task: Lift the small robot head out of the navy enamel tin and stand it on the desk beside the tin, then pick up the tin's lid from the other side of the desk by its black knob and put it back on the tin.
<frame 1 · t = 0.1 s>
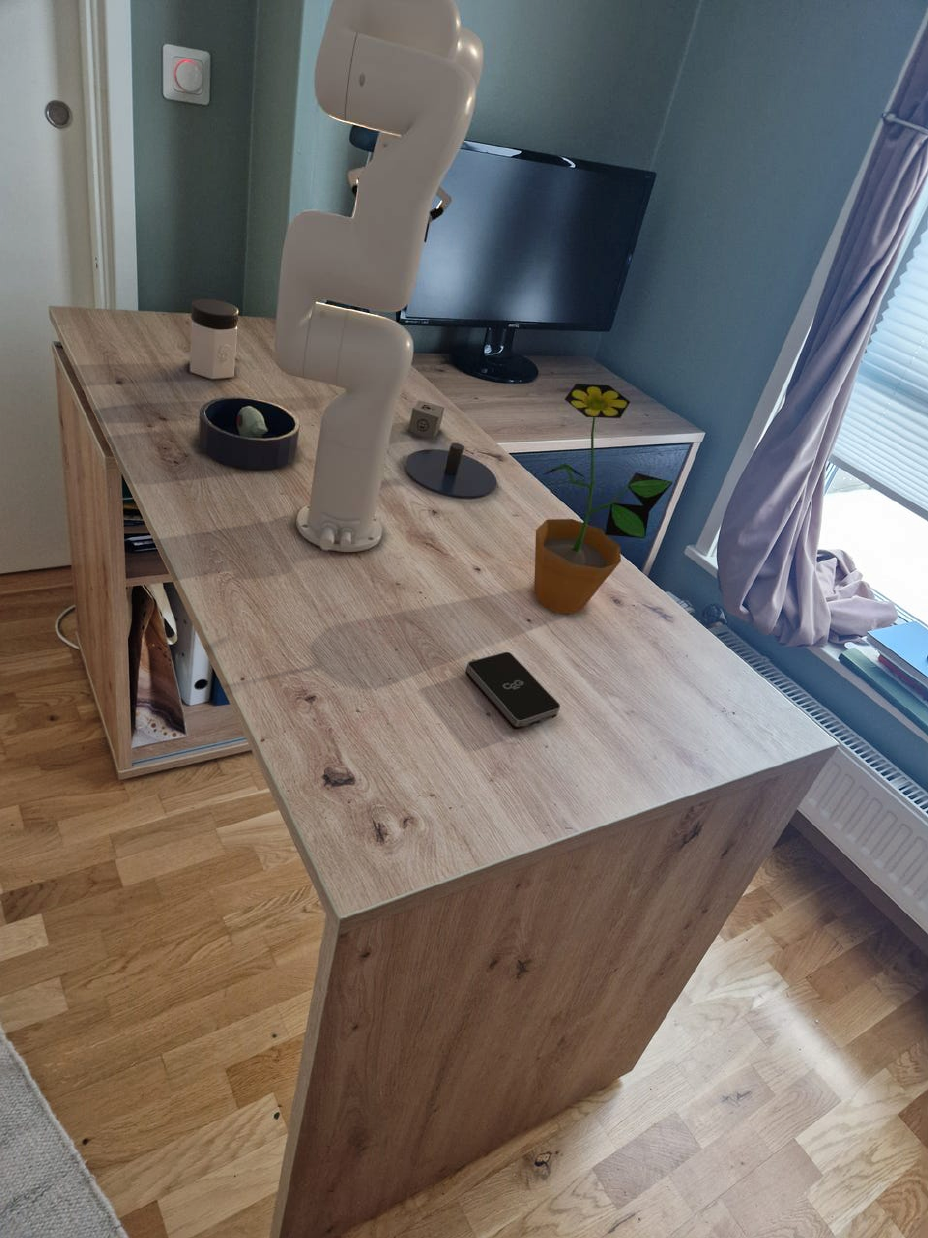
hand: (391, 238, 140), 31 cm above the table, tool pointing down, fingers open, 9 cm apart
potted plant: (557, 600, 121), on the table
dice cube: (423, 433, 156), on the table
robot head: (248, 446, 135), resting on tin
jar: (211, 371, 156), on the table
tin: (248, 447, 135), on the table
lid: (450, 474, 143), point 1 cm above the table
beverage cup: (364, 399, 162), on the table
external hard drive: (508, 697, 101), on the table
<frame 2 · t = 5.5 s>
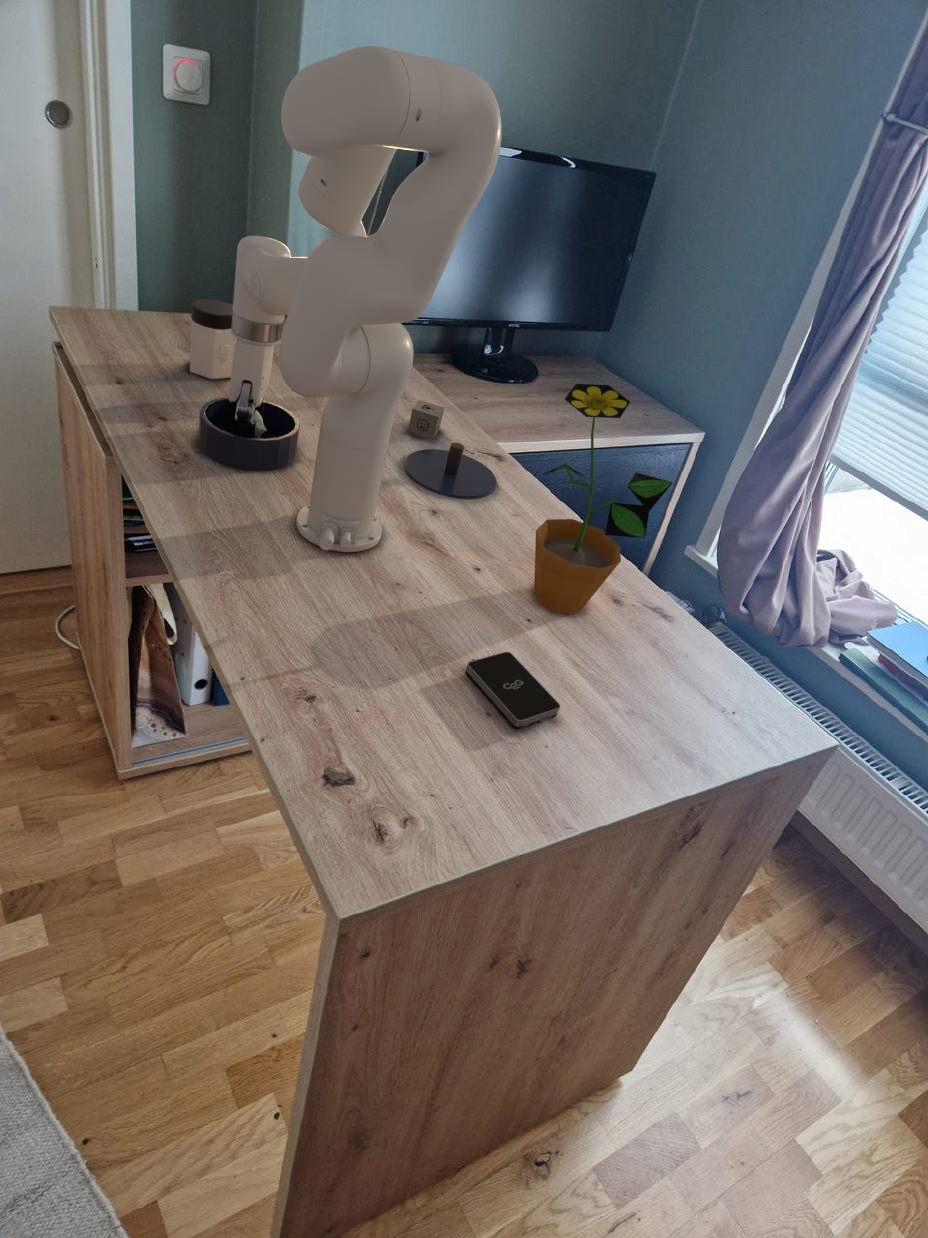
hand: (247, 432, 134), 2 cm above the table, tool pointing down, fingers closed on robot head, 7 cm apart
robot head: (248, 446, 135), resting on tin, touching gripper
everything else where it was.
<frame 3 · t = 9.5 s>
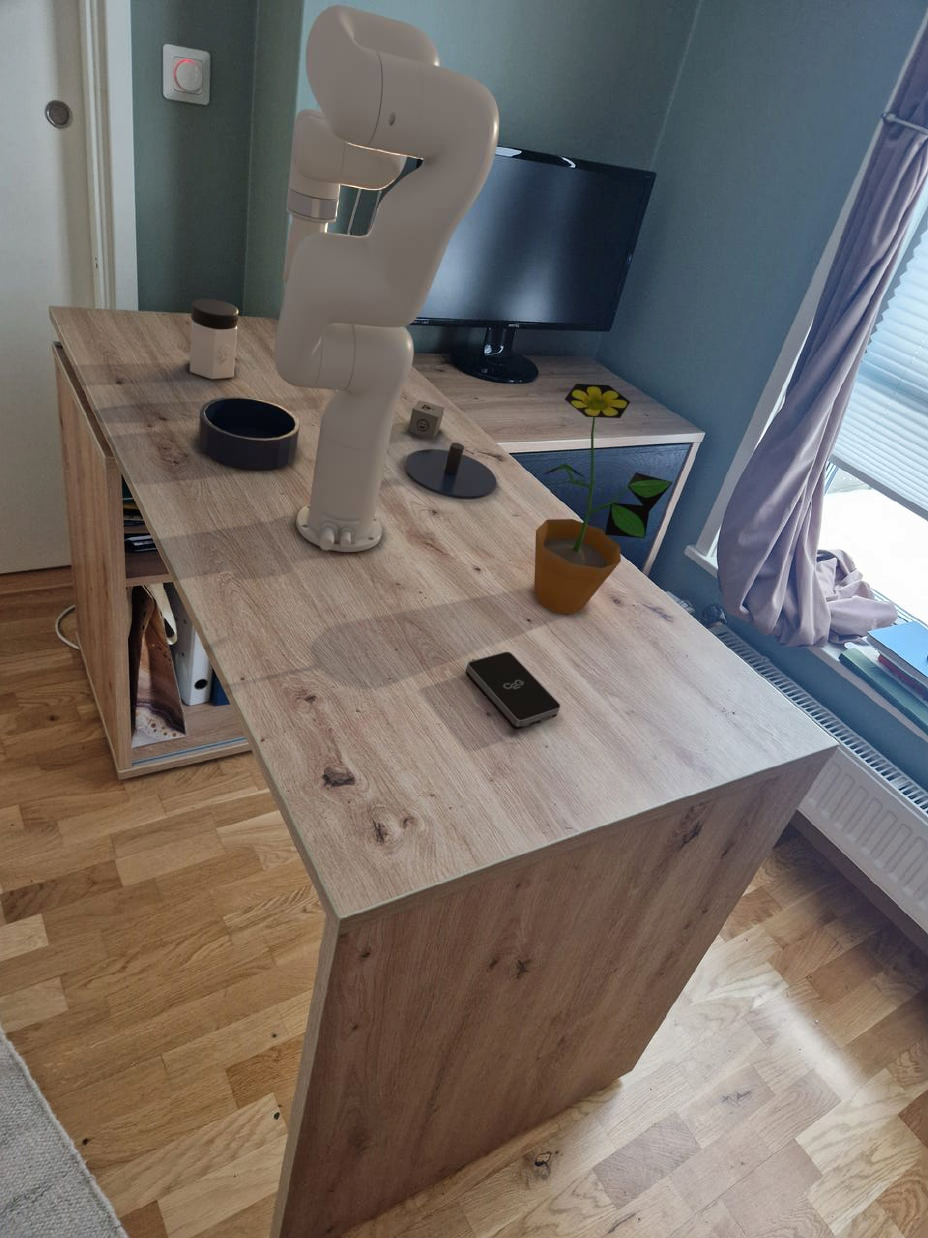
hand: (299, 319, 136), 18 cm above the table, tool pointing down, fingers closed on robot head, 7 cm apart
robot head: (299, 334, 137), point 16 cm above the table, touching gripper
everything else where it was.
when the fingers open (2 cm above the table, at t = 13.6 s): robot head stays where it is, on the table.
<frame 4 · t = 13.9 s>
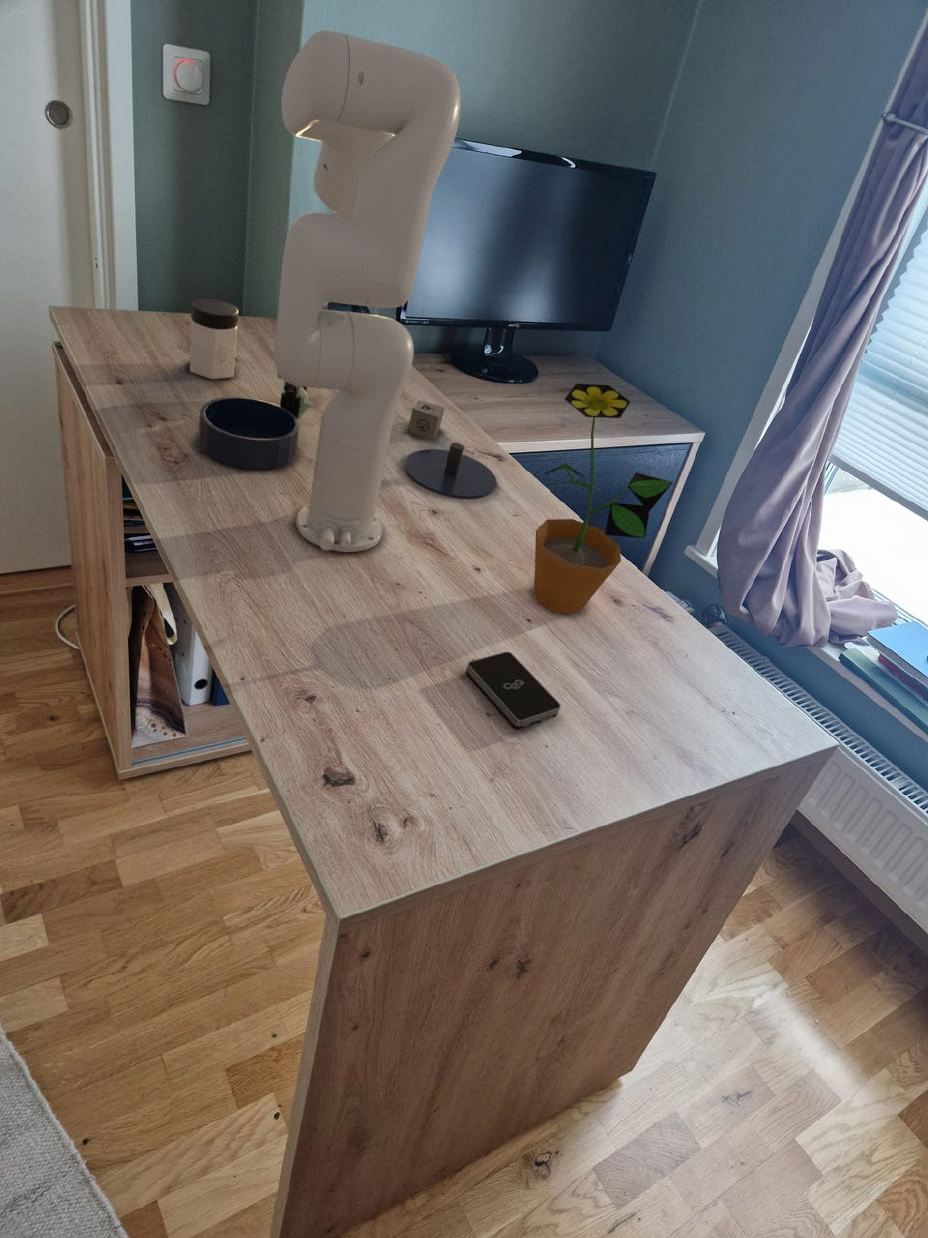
hand: (292, 405, 146), 3 cm above the table, tool pointing down, fingers open, 9 cm apart
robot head: (292, 421, 147), on the table
everything else where it was.
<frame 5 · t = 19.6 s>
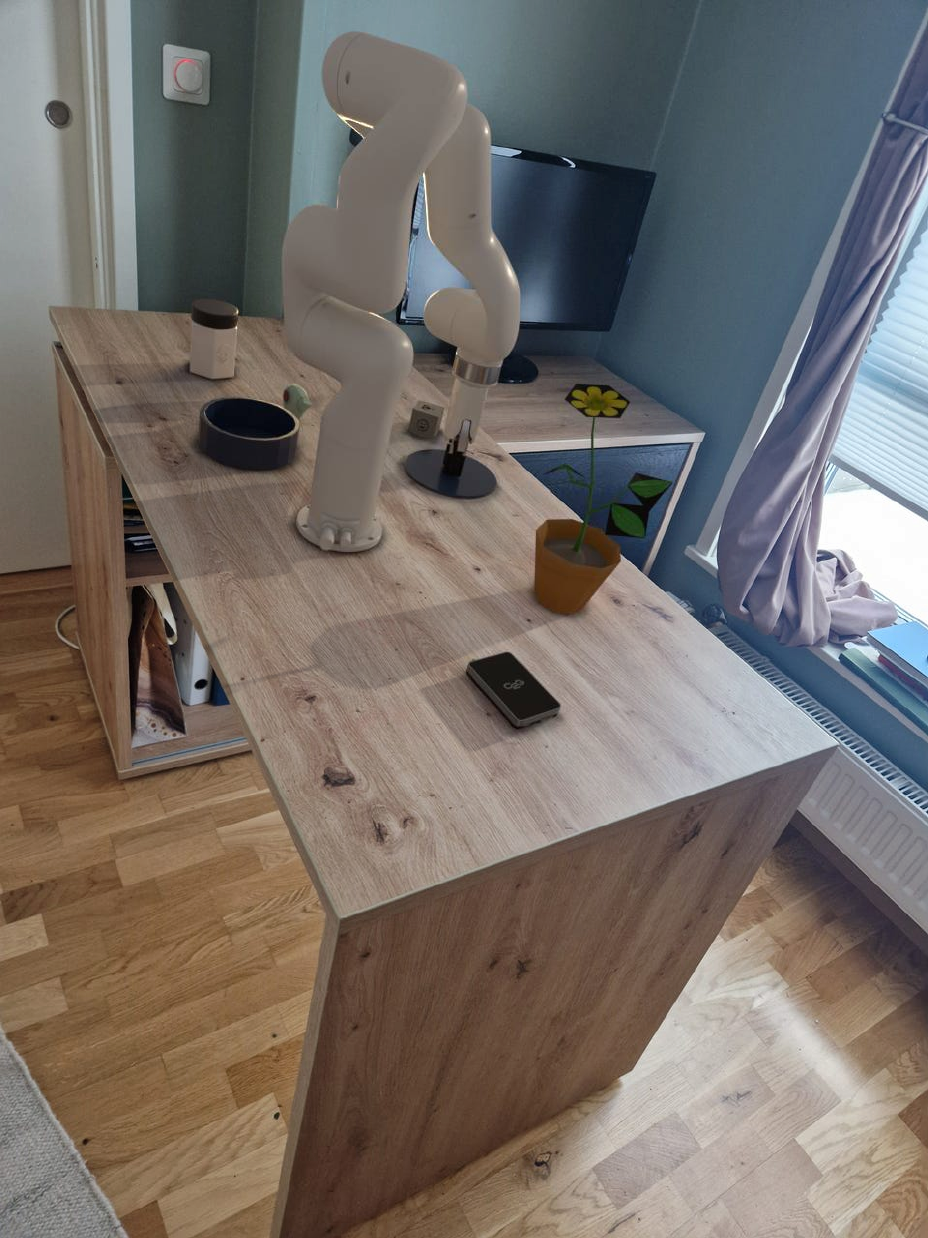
hand: (451, 469, 143), 1 cm above the table, tool pointing down, fingers closed on lid, 2 cm apart
lid: (450, 474, 143), point 1 cm above the table, touching gripper
everything else where it was.
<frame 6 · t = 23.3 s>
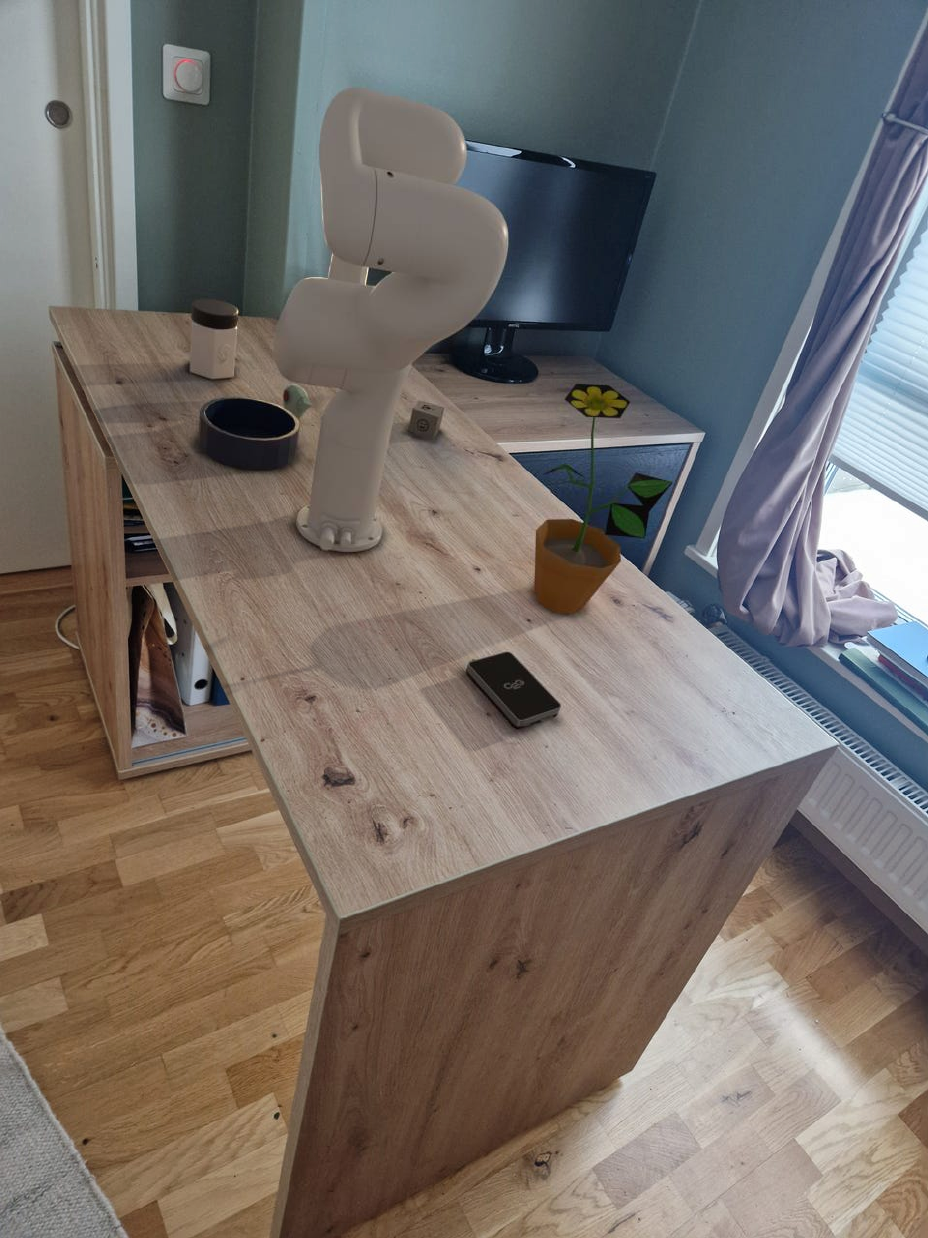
hand: (337, 360, 128), 17 cm above the table, tool pointing down, fingers closed on lid, 2 cm apart
lid: (336, 365, 129), point 16 cm above the table, touching gripper
everything else where it was.
when the fingers open (6 cm above the table, at t = 27.2 s): lid stays where it is, resting on tin.
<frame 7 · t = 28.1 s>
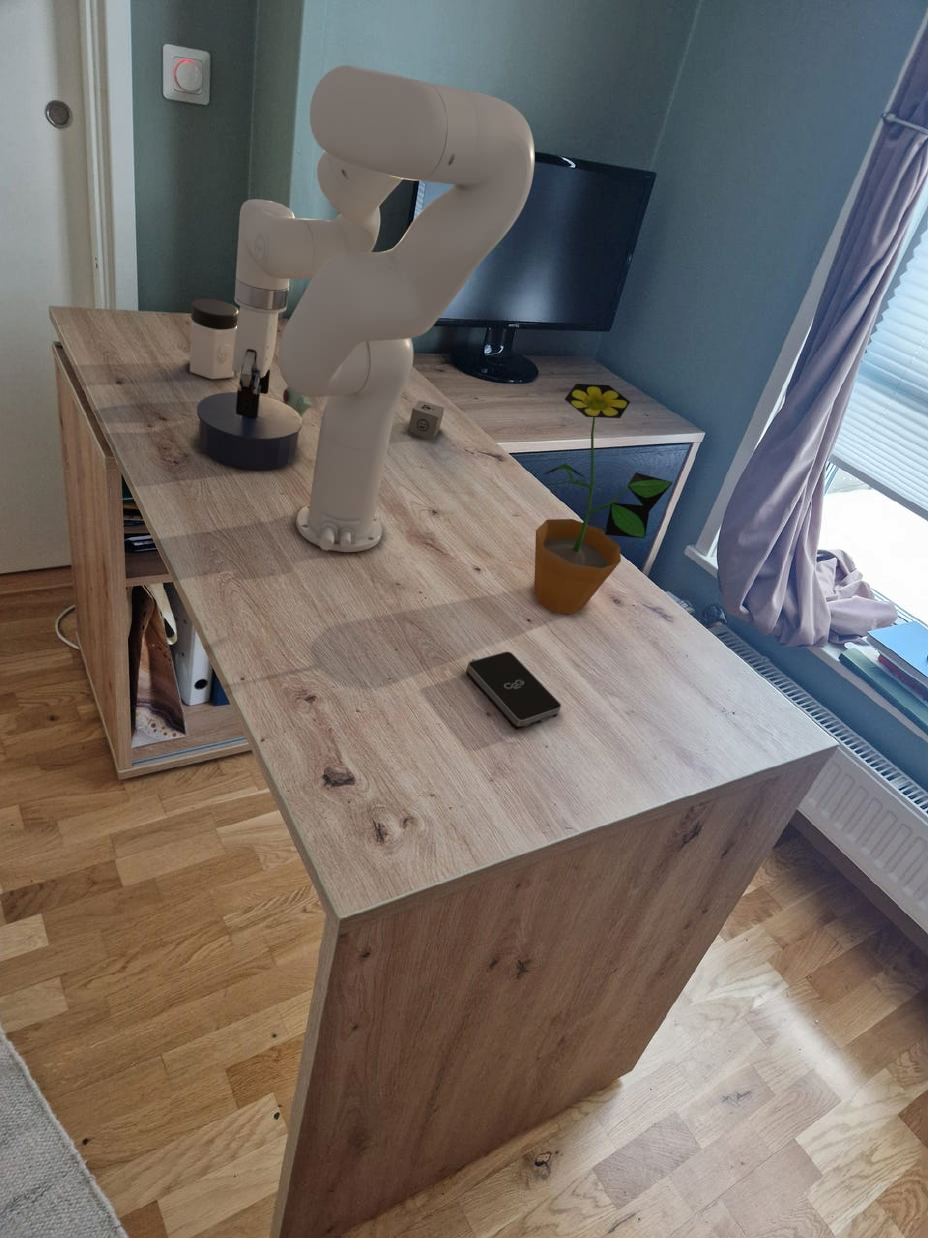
hand: (252, 403, 131), 8 cm above the table, tool pointing down, fingers open, 9 cm apart
lid: (250, 417, 132), point 5 cm above the table, touching tin
everything else where it was.
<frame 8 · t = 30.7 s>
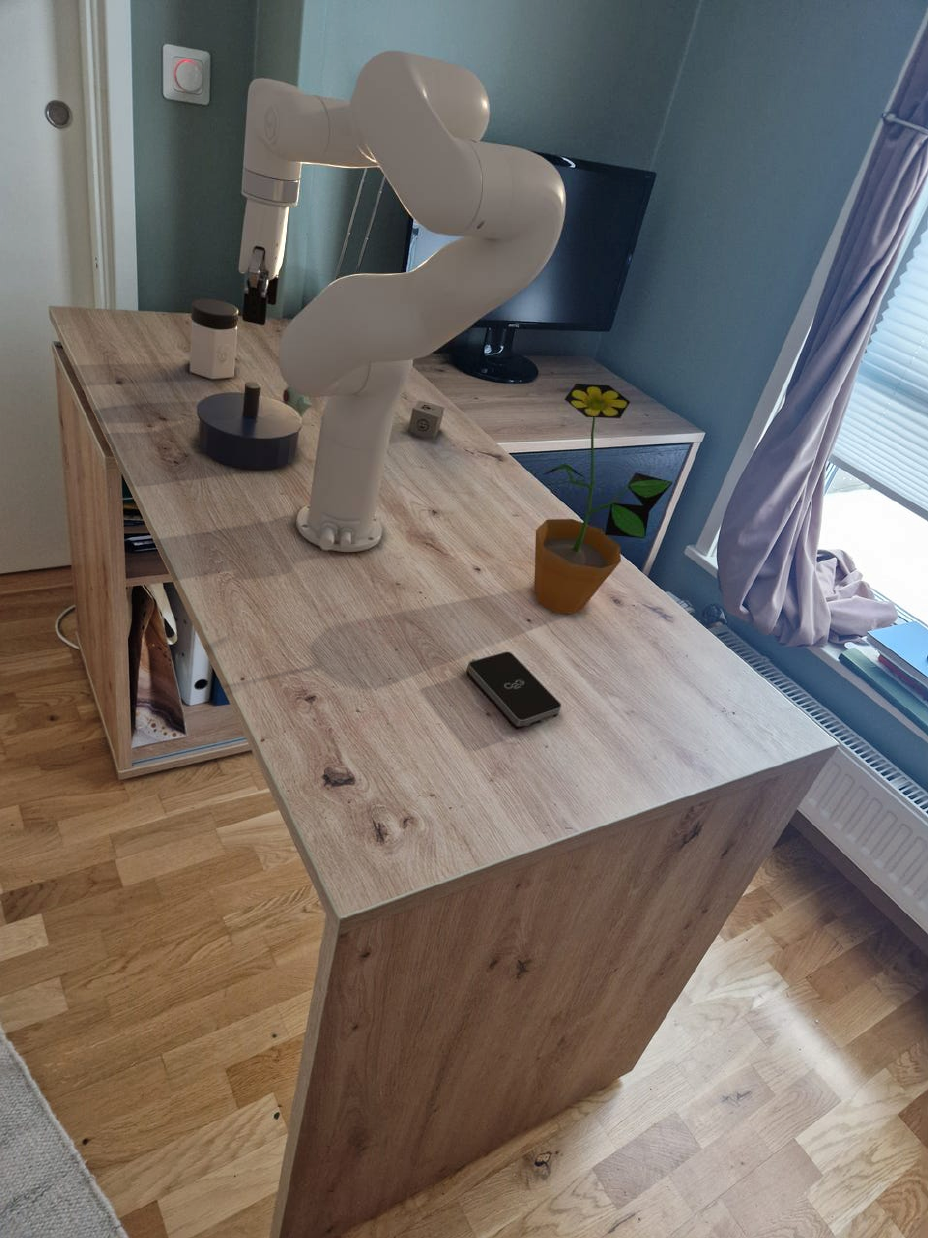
hand: (259, 312, 122), 22 cm above the table, tool pointing down, fingers open, 9 cm apart
nothing on the table moved.
at the end: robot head inside the target area (0.5 cm from its centre), on the table; lid 0.1 cm off-centre on the tin, point 5.3 cm above the tin's base; lid tilted 0° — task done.
